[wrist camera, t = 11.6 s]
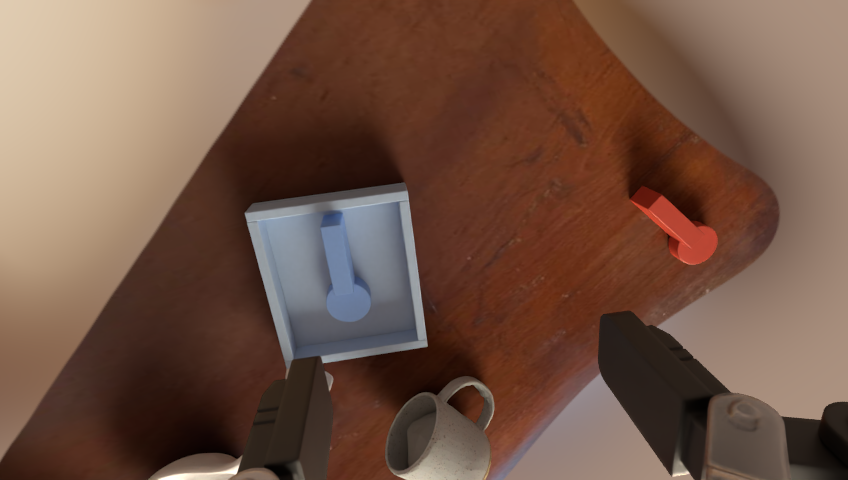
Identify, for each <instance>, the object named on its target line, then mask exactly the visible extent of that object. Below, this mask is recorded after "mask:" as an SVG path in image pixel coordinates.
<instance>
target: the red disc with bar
mask: <svg viewBox="0 0 848 480" xmlns="http://www.w3.org/2000/svg"><path fill="white" fill-rule="evenodd" d="M630 201H632V202H633V203H634V204H635V205H636V206H637V207H638V208H639V209H640V210H642V211H643V212H644V213H645V214H646V215H647V216H648V217H649V218H651V219H652V220H653V221H654V222H655V223H656V224H657V225H658V226H659V227H661V228H662V229H663V230H664V231H665V232H666V233H667V234H668V235H669V236H670V238H669V242H668V247H669V250H670V252H671V254H672V255H673V256H675V257H676V258H678V259H680V260H681V261H683V262H684V263H687V264H698V263H701V262H703V261H705V260H706V259H708V258H709V257H710V256H711V255H712V254H713V252H714V251H715V249H716V246H717V241H718V239H717V234H716V232H715V231H714V230H713V229H712V228H711V227H709V226H707V225H705V224H702V223H700V222H698V221H690V220H689V219H688V218H686V217H685V216H684V215H683V214H682V213H681V212H680V211H679V210H678V209H677V208H676V207H675V206H674V205H673V204H672V203H670V202H669V201H668V200H667V199H666V198H665V197H664V196H663V195H662V194H660V193H657V192H655V191H653V190H651V189H649V188H646V187H644V186H641V188H640V189H639V190H638V191H637V192H636V193H635V194H634V195H633V196H632V197H631V198H630Z"/></svg>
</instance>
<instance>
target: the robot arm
mask: <svg viewBox="0 0 848 480" xmlns="http://www.w3.org/2000/svg"><path fill="white" fill-rule="evenodd" d="M598 363H599V369H600V372H601V375H602V377H603V379H604V381H605V382H606V384H607V385H608V387H609V388H610V390H611V391H612V392H613V394H614V395H615V397H616V398H617V400H618V401H619V402H620V404H621V405H622V407H623V408H624V410H625V411H626V412H627V414H628V415H629V417H630V418H631V420H632V421H633V422H634V424H635V425H636V427H637V428H638V430H639V431H640V432H641V434H642V435H643V437H644V438H645V439H646V441H647V442H648V443H649V445H650V447H651V448H652V449H653V451H654V452H655V454H656V455H657V457H658V458H659V459H660V461H661V462H662V463H663V465H664V467H665V468H666V469H667V471H668V472H669V474H670V475H671V476H672V477H673V476H679V475H685V474H691V476H692V477H693V479H694V480H848V402H836V403H832V404H829V405H828V406H826V407H825V409H824V412H823V415H822V419H821V420H814V419H802V418H791V417H782V416H780V415H779V414H778V412H777V411H776V410H775V409H773V408H772V407H771V406H769V405H768V404H766V403H764V402H763V401H761V400H759V399H756V398H754V397H751V396H747V395H744V394H739V393H731V392H730V391H729V390H728V389H727V388H726V387H725V386H724V385H723V384H722V383H721V382H720V381H719V380H717V379H716V378H715V377H714V376H713V375H712V374H711V373H710V372H709V371H708V370H707V369H706V368H705V367H704V366H703V365H702V364H701V363H700V362H699V361H697V360H696V359H694V358H693V356H692V355H691V354H690V353H689V352H688V351H687V350H686V349H683V346H682V345H680V344H679V342H678V341H676V340H675V339H674V338H673V337H672V336H671V335H670V334H668V333H666V332H664V331H663V330H660V329H659V328H657V327H655V326H653V325H650V326H646V325H645V324H644V323H643V322H642V321H641V320H640V319H639V318H638V317H637V316H636V315H635V314H634V313H633V312H631V311H622V312H616V313H609V314H603V315H602V316H601V319H600V330H599V350H598ZM257 411H258V413H256V416H255V419H254V422H253V426H252V428H251V431H250V434H249V437H248V441H247V444H246V447H245V450H244V453H243V456H242V459H241V462H240V465H239V468H238V471H237V474H236V475H234V476H232V477H231V478H229V479H228V480H326V476H327V467H328V458H329V450H330V441H331V432H332V423H333V409H332V401H331V396H330V392H329V387H328V383H327V379H326V375H325V370H324V366H323V362H322V359H321V357H320V356H312V357H305V358H299V359H293V360H292V362H291V365H290V369H289V372H288V376H287V379H283V380H277V381H274V382H273V383H272V384H271V385H270V387H269V388H268V389H267V390H266V391H265V393H264V394H263V395H262V398H261V401H260V404H259V407H258V410H257Z"/></svg>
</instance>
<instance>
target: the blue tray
mask: <svg viewBox="0 0 848 480" xmlns="http://www.w3.org/2000/svg"><path fill="white" fill-rule="evenodd" d="M408 199H409V198H408V191H407V187H406V184H405V183H397V184H390V185H383V186H375V187H368V188H361V189H354V190H346V191H339V192H332V193H324V194H317V195H310V196H302V197H295V198H288V199H281V200H273V201H266V202H259V203H253V204H252V205H251V206H250V207H249V208H248V210H247V211H246V212H245V217H246V220H247V224H248V228H249V232H250V235H251V239H252V243H253V246H254V250H255V254H256V258H257V261H258V265H259V269H260V272H261V276H262V280H263V283H264V287H265V291H266V294H267V298H268V302H269V305H270V309H271V313H272V316H273V320H274V324H275V327H276V331H277V335H278V338H279V342H280V346H281V349H282V353H283V357H284V360H285V364H286V368H287V369H289V368H290V365H291V362H292V360H293V359H299V358H305V357H312V356H320V357H321V359H322V362H323V363H327V362H334V361H340V360H346V359H353V358H359V357H365V356H372V355H378V354H384V353H390V352H397V351H403V350H409V349H416V348H422V347H427V346H428V344H427V337H426V329H425V321H424V314H423V306H422V298H421V291H420V283H419V275H418V268H417V260H416V252H415V245H414V237H413V229H412V222H411V214H410V206H409V200H408ZM338 213H343V216H344V222H345V227H346V232H347V237H348V243H349V248H350V253H351V258H352V264H353V269H354V274H355V276H356V277H359V278H361V279H362V280H364V281H365V282H366V283H367V285H368V286H369V288H370V291H371V305H370V309H369V311H368V312H367V314H366V315H365V316H364V317H363V318H361V319H359V320H357V321H353V322H344V321H340V320H338V319H336V318H334V317H333V316H332V315H331V314H330V313H329V311H328V309H327V306H326V298H327V293H328V289H329V287H330V285H331V284H332V282H331V277H330V273H329V268H328V263H327V259H326V254H325V249H324V244H323V240H322V235H321V230H320V226H321V223H322V220H323V217H324V215H331V214H338Z"/></svg>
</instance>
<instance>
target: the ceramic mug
mask: <svg viewBox="0 0 848 480" xmlns="http://www.w3.org/2000/svg"><path fill="white" fill-rule="evenodd" d="M469 385H474V386H475V387H476V388H477V389H478V391H479V392H480V395H481V396H483V397H484V407H483V409H482V413H481V415H480V417H479V419H478V420H477V422H476V423H474V422H472V420H470V419H468V418H467V417H465V416H463V415H462V414H461V413H459V412H458V411H457V410H456V409H454V408H453V407H452V406H450V405H449V404H448V403H447V401H448V399H449V398H450V397H451V396H452V395H453V394H454V393H456V392H457V391H458V390H459V389H461V388H462V387H465V386H469ZM493 412H494V400H493V396H492V393H491V392H490V390H489V389H488V388H487V386H486V385H484V384H483V383H482V382H480V381H479V380H477V379H476V378H474V377H470V376H463V377H459V378H456V379H454V380H452V381H451V382H450V383H449V384H448V385H447V386H445V387H444V388H443V389H442V391H441V392H440V393H439V394H438V395H437V396H436V395H434V394H432V393H429V392H423V393H420V394H417V395H416V396H414V397H413V398H411V399H410V400H409V401H408V402H407V403H406V404H405V405H404V406H403V407H402V408H401V410H400V411H399V412H398V414H397V415H396V417H395V419H394V421H393V423H392V425H391V427H390V430H389V433H388V437H387V441H386V448H385V457H386V463H387V466H388V468H389V469H390V470H391V472H392V473H393V474H395V475H397V476H399V477H401V478H404V479H406V480H485V479H486V477H487V475H488V472H489V469H490V464H491V458H492V457H491V445H490V442H489V439H488V437H487V436H486V435H485V433H484V430H485V429H486V428H487V426H488V424H489V423H490V420H491V418H492V415H493Z"/></svg>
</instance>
